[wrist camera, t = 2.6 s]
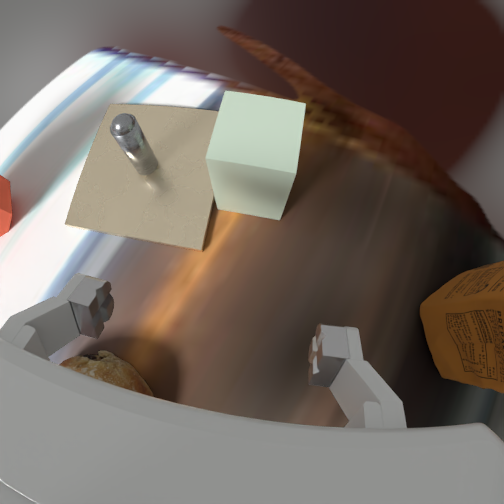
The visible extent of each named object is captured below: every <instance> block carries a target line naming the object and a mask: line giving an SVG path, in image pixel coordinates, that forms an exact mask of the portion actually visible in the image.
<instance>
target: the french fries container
mask: <svg viewBox="0 0 504 504" xmlns="http://www.w3.org/2000/svg"><path fill="white" fill-rule="evenodd" d="M11 219H12V205H11V190H10V181H8V180H7V179H5V178H4V177H2V176H1V175H0V237H1V236H2V235H4V234H5V233H7V232H9V228H10V223H11Z"/></svg>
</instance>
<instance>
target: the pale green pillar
mask: <svg viewBox="0 0 504 504" xmlns="http://www.w3.org/2000/svg"><path fill="white" fill-rule="evenodd" d="M305 106H306V104H305V103H300V102H295V101H290V100H285V99H279V98H273V97H267V96H261V95H254V94H247V93H239V92H232V91H225V93H224V96H223V100H222V103H221V106H220V109H219V113H218V116H217V120H216V123H215V126H214V130H213V133H212V137H211V140H210V144H209V147H208V151H207V155H206V158H205V159H206V163H207V167H208V171H209V176H210V180H211V184H212V188H213V192H214V196H215V200H216V204H217V209H219V210H225V211H231V212H237V213H242V214H248V215H254V216H259V217H265V218H270V219H276V220H280V219H281V216H282V213H283V210H284V208H285V205H286V202H287V199H288V196H289V193H290V190H291V188H292V185H293V182H294V179H295V176H296V172H297V165H298V158H299V151H300V144H301V137H302V129H303V122H304V114H305Z"/></svg>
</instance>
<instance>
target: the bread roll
mask: <svg viewBox="0 0 504 504" xmlns="http://www.w3.org/2000/svg"><path fill="white" fill-rule="evenodd" d="M60 366H63V367H65V368H68V369H70V370H73V371H75V372H78V373H81V374H83V375H86V376H89V377H92V378H94V379H97V380H100V381H103V382H106V383H109V384H112V385H115V386H118V387H121V388H124V389H128V390H131V391H134V392H137V393H141V394H144V395H148V396H151V397H154V395H153V392H152V391H151V390H150V388H149V386H148V385H147V384H146V381H145V380H143V378H142V377H141V376H140V375H139V374H138V372H137V371H136V370H135V369H134V368H133V367H132V366H131V365H130V364H129V363H128V362H126V361H123V360H121V359H120V358H118V357H116V356H114V354H113V353H111V352H108V351H104V350H103V351H98V355H85V356H75V357H71V358H69V359H67V360H65V361H63V362H62V363H61V364H60Z"/></svg>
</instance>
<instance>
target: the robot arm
mask: <svg viewBox="0 0 504 504" xmlns="http://www.w3.org/2000/svg"><path fill="white" fill-rule="evenodd" d="M110 291H111V284H110V282H108V281H105V280H102V279H98V278H94V277H91V276H86V275H83V274H80V273H77V274H75V275H74V276H73V277H72V278H71V280H70V281H69V282H68V283H67V285H66V286H65V287H64V288H63V290H62V291H61V292H60V293H59V295H58V296H57V297H52V298H49V299H47V300H45V301H43V302H41V303H38V304H36V305H34V306H32V307H30V308H28V309H26V310H23V311H21V312H19V313H17V314H15V315H13V316H11V317H10V318H9V319H8V320H7V322H6V323H5V324H4V326H3V327H2V328H1V330H0V504H504V442H503V441H502V440H501V439H500V438H499V437H498V436H497V435H496V434H495V433H494V432H493V431H492V430H491V429H490V428H489V427H488V426H486V425H485V424H483V423H470V424H462V425H452V426H440V427H424V428H407V426H406V420H405V414H404V408H403V403H402V401H401V400H400V399H399V397H398V396H397V395H396V394H395V393H394V392H393V390H392V389H391V388H390V387H389V386H388V385H387V383H386V382H385V381H384V380H383V379H382V378H381V377H380V375H379V374H378V373H377V372H376V371H375V370H374V368H373V367H372V366H371V365H370V364H369V363H368V362H367V361H364V360H363V353H362V347H361V341H360V336H359V330H358V328H355V327H346V326H345V327H344V326H338V325H331V324H324V323H319V324H318V326H317V328H316V336H315V337H313V338H312V341H311V343H310V347H309V353H308V361H309V363H310V364H311V365H310V368H309V370H308V384H309V385H316V386H323V387H330V388H329V389H330V390H331V392H332V394H333V395H334V397H335V399H336V400H337V402H338V404H339V405H340V407H341V408H342V410H343V412H344V413H345V415H346V417H347V418H348V420H349V422H348V423H347V424H346V426H345V427H344V428H341V427H325V426H312V425H301V424H292V423H283V422H275V421H268V420H261V419H254V418H248V417H242V416H236V415H230V414H225V413H219V412H214V411H209V410H205V409H200V408H195V407H191V406H187V405H182V404H178V403H174V402H170V401H166V400H162V399H159V398H155V397H151V396H148V395H144V394H141V393H137V392H134V391H131V390H128V389H124V388H121V387H118V386H115V385H112V384H109V383H106V382H103V381H100V380H97V379H94V378H92V377H89V376H86V375H83V374H81V373H78V372H75V371H73V370H70V369H68V368H65V367H63V366H60V365H58V364H55V363H53V362H51V361H50V359H49V358H48V357H49V356H50V355H52V354H53V353H55V352H56V351H58V350H59V349H61V348H62V347H63V346H65V345H66V344H68V343H69V342H71V341H72V340H74V339H75V338H77V337H78V336H80V334H82V335H85V336H88V337H92V338H95V339H98V338H99V336H100V334H101V333H102V331H103V329H104V322H106V321H108V320H109V319H110V317H111V315H112V312H113V309H114V300H113V297H112V296H111V294H110V293H109V292H110Z"/></svg>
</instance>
